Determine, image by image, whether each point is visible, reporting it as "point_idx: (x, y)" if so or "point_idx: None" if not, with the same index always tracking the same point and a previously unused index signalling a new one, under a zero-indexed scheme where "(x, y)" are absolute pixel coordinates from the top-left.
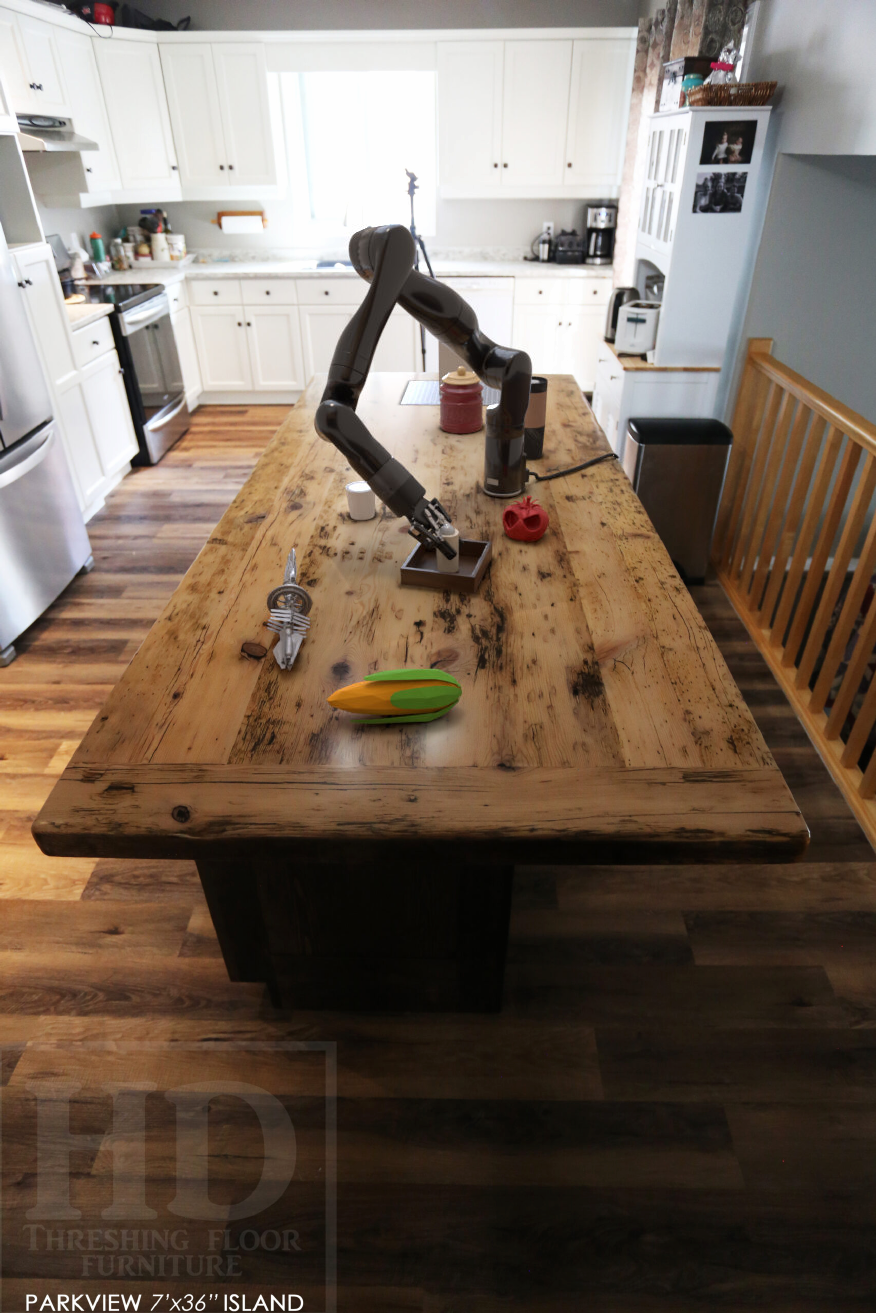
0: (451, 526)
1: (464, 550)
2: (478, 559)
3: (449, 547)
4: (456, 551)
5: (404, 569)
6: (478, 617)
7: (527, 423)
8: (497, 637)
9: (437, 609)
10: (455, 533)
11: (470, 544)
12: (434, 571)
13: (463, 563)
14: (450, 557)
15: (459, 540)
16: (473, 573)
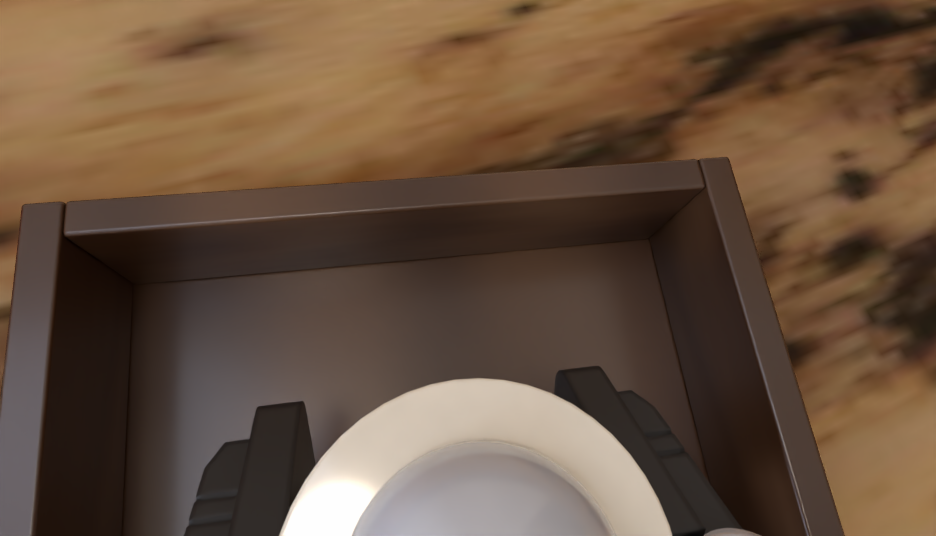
0: (493, 518)
1: (99, 488)
2: (171, 345)
3: (644, 444)
4: (567, 376)
5: None
6: (841, 137)
7: None
8: (933, 20)
9: (904, 372)
10: (486, 423)
11: (64, 423)
12: (820, 505)
13: None
14: None
15: (297, 444)
16: (679, 181)
